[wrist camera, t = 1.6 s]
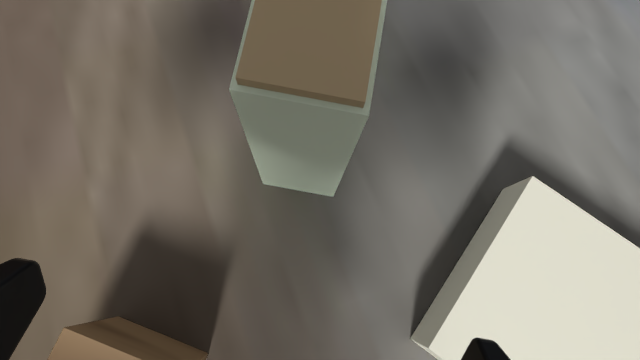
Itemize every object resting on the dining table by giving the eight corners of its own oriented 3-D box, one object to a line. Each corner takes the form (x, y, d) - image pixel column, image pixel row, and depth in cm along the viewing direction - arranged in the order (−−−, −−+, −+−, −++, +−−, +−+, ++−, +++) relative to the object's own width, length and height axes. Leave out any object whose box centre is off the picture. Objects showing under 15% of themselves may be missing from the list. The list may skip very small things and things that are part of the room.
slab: (576, 463, 20) (624, 495, 17) (410, 338, 21) (428, 348, 18) (657, 294, 22) (711, 296, 19) (503, 188, 23) (532, 176, 20)
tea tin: (333, 196, 23) (371, 110, 11) (263, 184, 22) (226, 82, 11) (344, 131, 24) (390, -14, 12) (277, 118, 23) (257, -39, 12)
